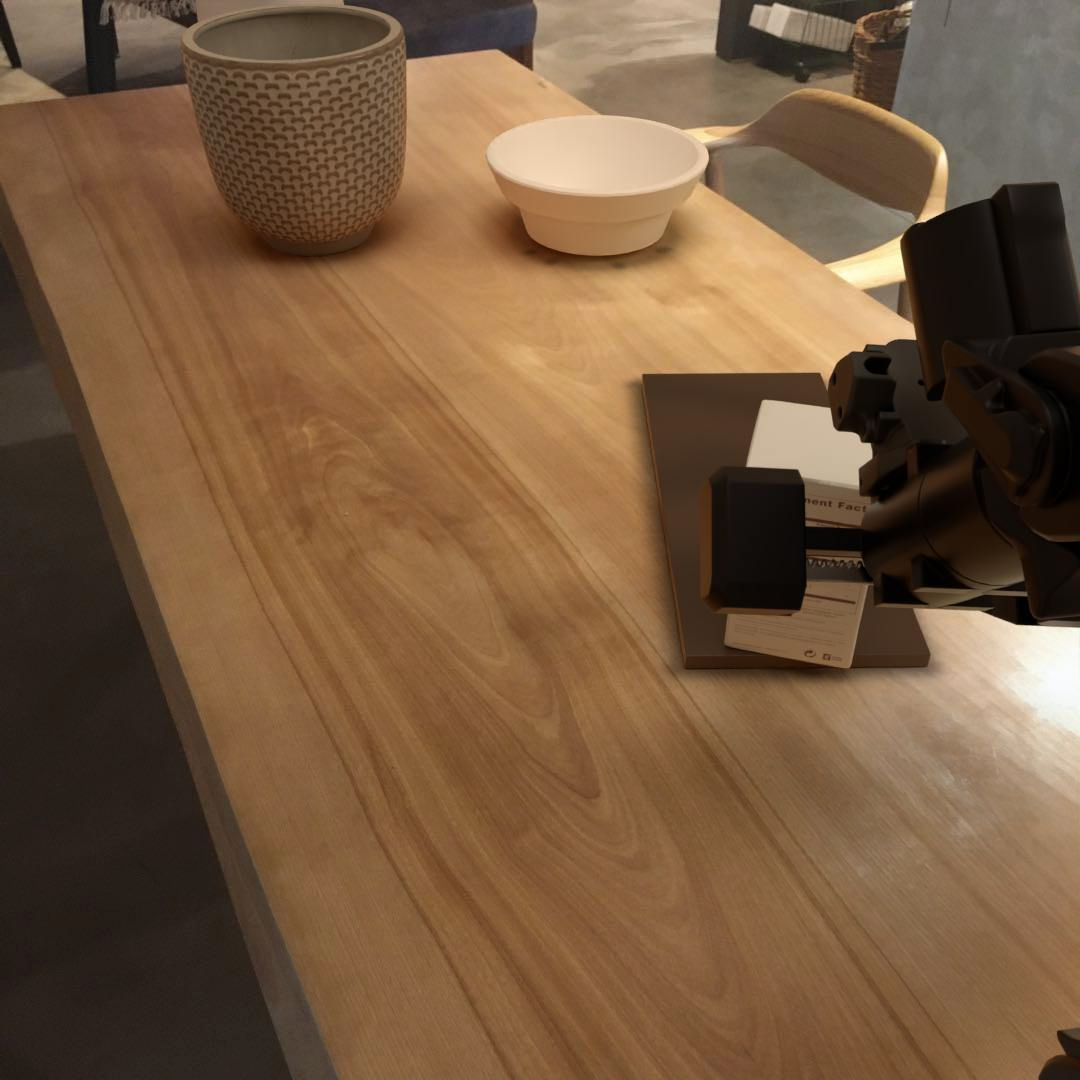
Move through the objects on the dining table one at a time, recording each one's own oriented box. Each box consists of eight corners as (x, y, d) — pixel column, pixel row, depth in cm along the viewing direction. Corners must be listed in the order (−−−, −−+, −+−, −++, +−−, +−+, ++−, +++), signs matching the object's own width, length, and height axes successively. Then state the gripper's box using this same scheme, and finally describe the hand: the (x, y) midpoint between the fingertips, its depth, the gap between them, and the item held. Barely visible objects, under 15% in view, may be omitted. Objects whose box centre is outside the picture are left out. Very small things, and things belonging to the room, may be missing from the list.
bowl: (544, 297, 105) (544, 209, 100) (455, 213, 120) (451, 132, 115) (744, 254, 112) (753, 169, 107) (636, 180, 127) (640, 102, 122)
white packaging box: (738, 570, 73) (761, 394, 65) (860, 591, 72) (898, 413, 64) (719, 648, 68) (741, 466, 60) (850, 673, 66) (891, 490, 58)
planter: (449, 254, 112) (438, 44, 100) (245, 295, 105) (208, 76, 94) (378, 184, 126) (361, -7, 114) (194, 216, 119) (156, 17, 108)
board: (927, 666, 68) (931, 654, 67) (684, 668, 68) (686, 656, 67) (818, 383, 93) (820, 372, 92) (641, 384, 93) (642, 373, 92)
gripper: (1208, 324, 47) (1019, 436, 62) (746, 296, 45) (669, 418, 61) (1234, 601, 45) (1031, 647, 60) (749, 581, 43) (668, 633, 58)
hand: (850, 579), depth 60 cm, fingers open, 9 cm apart
